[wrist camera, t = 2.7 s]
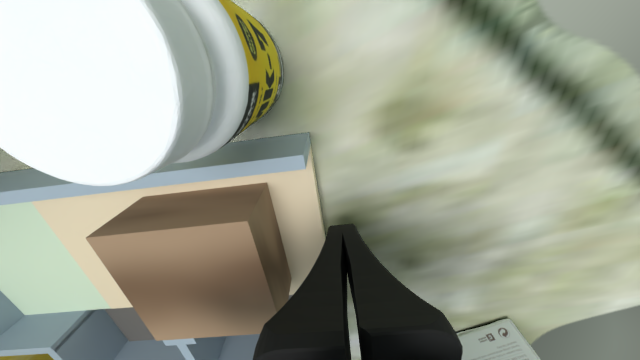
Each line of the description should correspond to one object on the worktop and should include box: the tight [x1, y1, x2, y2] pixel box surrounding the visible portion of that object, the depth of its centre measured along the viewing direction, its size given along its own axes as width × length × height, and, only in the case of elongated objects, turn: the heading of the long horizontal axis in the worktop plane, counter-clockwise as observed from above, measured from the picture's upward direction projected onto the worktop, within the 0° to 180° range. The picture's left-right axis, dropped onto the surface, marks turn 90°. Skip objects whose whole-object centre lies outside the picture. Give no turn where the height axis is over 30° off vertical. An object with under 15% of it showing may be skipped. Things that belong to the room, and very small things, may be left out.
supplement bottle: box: [0, 0, 283, 186], centre depth 7 cm, size 5×5×8 cm
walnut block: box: [86, 182, 292, 341], centre depth 13 cm, size 7×7×4 cm
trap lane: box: [0, 132, 326, 360], centre depth 15 cm, size 16×24×4 cm
